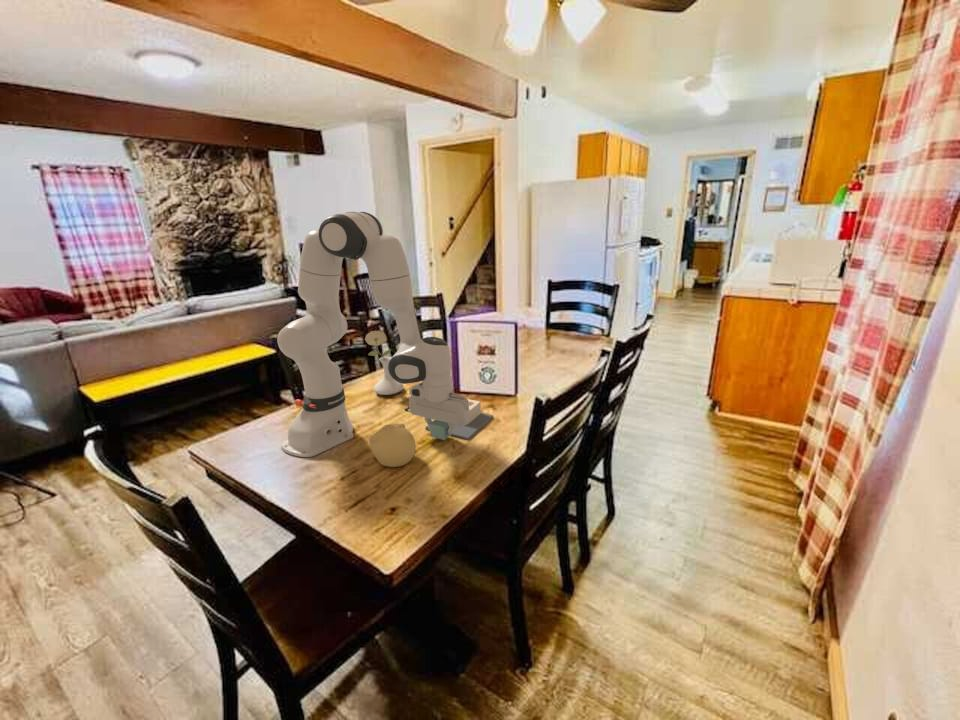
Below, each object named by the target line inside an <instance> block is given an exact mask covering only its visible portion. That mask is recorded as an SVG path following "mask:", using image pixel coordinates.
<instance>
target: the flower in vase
mask: <svg viewBox="0 0 960 720" xmlns="http://www.w3.org/2000/svg"><path fill="white" fill-rule="evenodd" d="M364 340H365V342H366V343H367V345H370V346H374V347H376V350H377V351H376V350H371V351H370V352H369V353H368V354H367V356H374V357H376V356H378V355H380V356H381V357H380V358H379V359H378V361H380V363H381V365H382V368H383V372H384V373H383V377H382V378H381V379H380V380H379V381H378V382H377V383H376V384H375V386H374V387H373V392H375V393H376V394H377V395H384V396H387V395H389V396H390V395H395V394H397V393H399V392H401V391H402V390H403V388H404V385H403V384H402V383H399V382H397V381H395V380H394V379H393V378H392V377H391V375H390V373H389V371H388V364H389V361H390V360H391V358H392V357H393V356H387V355H389V354H390V353H391V352H392V348H390V349H388V350H385V351H384V352H383V354H382V353H380V351H379V346H380V345H383V344H385V343H386V341H387V335H386V334H385V333H384V332H383V331H380V330H374V331H373V330H371V331H370V332H368V333H367V334H366V335H365V338H364Z"/></svg>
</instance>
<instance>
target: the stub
mask: <svg viewBox="0 0 960 720" xmlns="http://www.w3.org/2000/svg"><path fill="white" fill-rule="evenodd" d="M448 427H450V426H449V425H448V423H446V422H442V421H438V420H434V419H433V420H432V423H430V430H429V431H430V437H431V438H434V439H438V440H442V441H445V440H446V439H448V438H449V437H451V436H450V435H447V434H446V429H448Z"/></svg>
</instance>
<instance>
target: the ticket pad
mask: <svg viewBox="0 0 960 720" xmlns="http://www.w3.org/2000/svg"><path fill="white" fill-rule="evenodd" d="M466 399H467V400H468V402H469V410H470V418H471V419H470V421H469V423H468V424H466V425H465V426H459V425H455V426H454V428H453V434H452V435H450V436H449V437H455V438H459V439H462V440H466V441H469V440H470V439H471V438H472V437H473V436H475V435H476V434H477V433H478V432H479V431H480V430H481V429H483V427H485V425H487V424H488V423H489V422H490V421H491V420H492V419H493V418H494V414H489V413H486V412H485V413H484V412H482V408H481V407H482V403H481V401H478V400H473V399H468V398H466ZM425 430H426V431H430V430H429V428H428V425H426V426H425Z"/></svg>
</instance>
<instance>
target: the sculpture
mask: <svg viewBox="0 0 960 720" xmlns="http://www.w3.org/2000/svg"><path fill="white" fill-rule="evenodd" d="M368 442H369V444H370V445H369V447H370V451H371V452H372V453H373V455H374V457H375V458H376V460H377V462H379V463H380V465H382V466H385V467H389V468H396V467H397V468H398V467H402V466H405V465H407V464H408V463H409V462H411V460H412V459H413V457H414V456H415V452H416V445H417V444H416V440H415V438H414V435H413V434H412V432H410V430H409V429H408V428H406V426H405V424H404V423H396V424H395V423H394V424H385V425H384V426H383V427H381V428H380V429H379V430H378V431H376V432H374V433H373V434H371V435H370V437H369V438H368Z"/></svg>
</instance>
